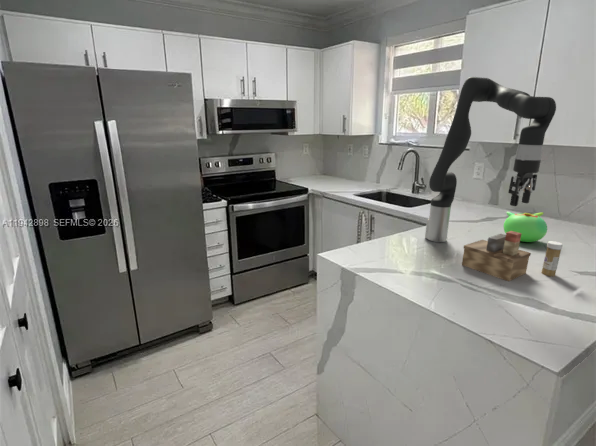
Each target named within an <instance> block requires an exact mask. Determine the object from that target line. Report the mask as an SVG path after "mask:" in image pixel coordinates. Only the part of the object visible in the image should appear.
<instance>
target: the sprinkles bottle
mask: <svg viewBox="0 0 596 446" xmlns="http://www.w3.org/2000/svg"><path fill="white" fill-rule="evenodd" d="M562 249H563V243H562V242H559V241H555V240H549V241H547V244H546V251H545V256H544V258H543V259H544V260H543V264H542V269H541V274H542V275H544V276H546V277H555V276H556V273H557V269H558V265H559V261H560V256H561V251H562Z"/></svg>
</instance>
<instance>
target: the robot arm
mask: <svg viewBox="0 0 596 446" xmlns="http://www.w3.org/2000/svg"><path fill="white" fill-rule="evenodd" d="M474 102H475V103H476V102H477V103H482V102H487V103H488V102H489V103H496V105H498V107H500V108H501V109H503V110H507V111H509V112H512V113H514V114H515V115H516V116H518V117H520V118H523V119H526V120H533V121H532V122H531V124H530V125H529V126H525V127H523V128H522V129H521V131H520V135H519V140H518V146H517V149H516V152H515V158H514V165H513V169H512V170H513V172H515V173H516V175H512V176H511V178H510V183H509V188H508V194H510V195H511V198H510V203H509V205H510V206H512V207H518V206H519V199H520V194H521V193H522V198H521V203H524V204H529V203H530V201H531V199H530V198H531V194H532V193H533V191H535V190H536V185H537V179H538V174H537V173H539V172H540V166H541V163H542V162H541V161H542V156H543V151H544V150H543V145H544V141H545V136H546V132H547V130H548V128H549V126H550V125H551V122H552V120H553V118H554V116H555V113H556V111H557V103H556V101H555V99H554V98H553V97H550V96H535V95H534V96H533V95H532V96H531V95H530V94H529V93H528V92H525V91H522V90H518V89H514V88H509V87H506V86H504V85H501V84H499V83H498V82H496V81H494V80H493V79H490V78H488V77H479V76H469V77H468V78H467V79H466V80H465V81H464V83H463V84H462V87H461V90H460V94H459V98H458V102H457V106H456V109H455V112H454V116H453V118H452V121H451V124H450V127H449V130H448V133H447V135H446V138H445V141H444V144H443V146H442V150H441V152H440V154H439V157H438V160H437V162H436V164H435V166H434V168H433V170H432V173H431V175H430V177H429V182H428V183H429V188H430V190H431V191H432V192H435V193H438V194H437V195H436V196H434V197H433V198H432V199H431V200H430V206H429V207H430V208H429V215H428V219H427V220H426V224H425V225H426V227H425V232H424V238H425V239H426V240H428V241H430V242H435V243H445V242H447V241H448V233H449V232H448V231H449V227H450V226H449V225H450V217H451V211H452V210H451V209H452V204H453V202H454V200H455V194H456V190H457V181H458V179H457V176H456V174H455V173H454V172H452V171H451V172H450V171H449V169H450V167H451V166H452V164H454V162H455V161H456V160H457V159H459V158H460V156H461V155H462V154H463V153H464V152H465V150H466V149H467V147H468V145H469V142H470V139H471V136H472V127H471V123H470V116H469V115H470V110H471V107H472V104H473V103H474ZM522 191H523V192H522Z"/></svg>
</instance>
